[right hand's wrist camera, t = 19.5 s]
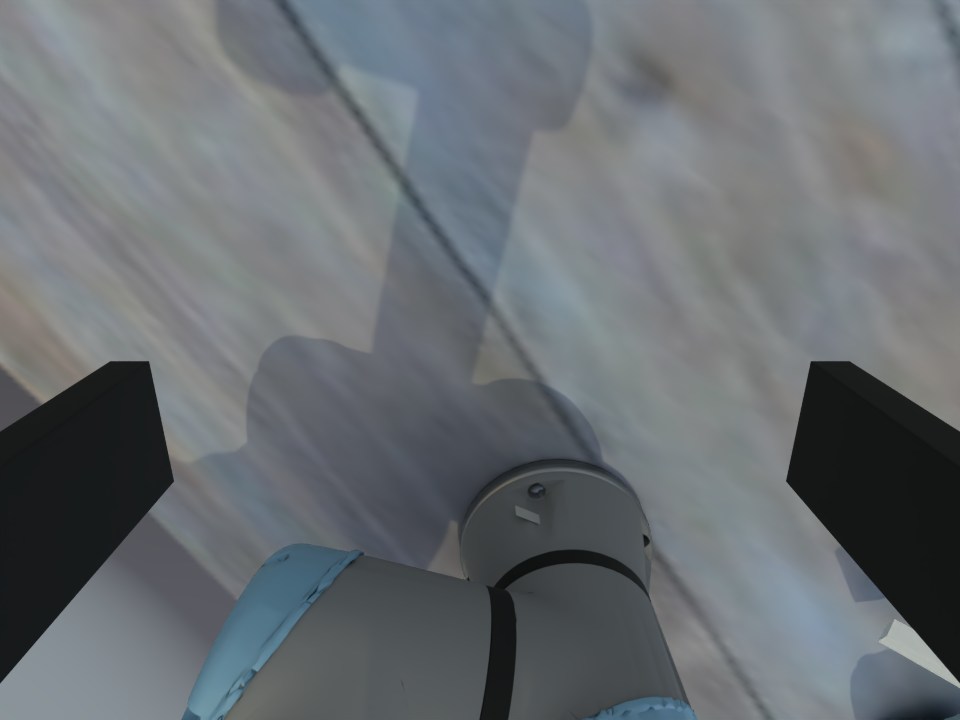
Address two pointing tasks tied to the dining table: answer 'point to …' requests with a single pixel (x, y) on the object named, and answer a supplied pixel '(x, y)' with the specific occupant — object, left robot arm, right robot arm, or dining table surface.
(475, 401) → the dining table surface
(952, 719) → the lunch box
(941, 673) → the white plastic object
